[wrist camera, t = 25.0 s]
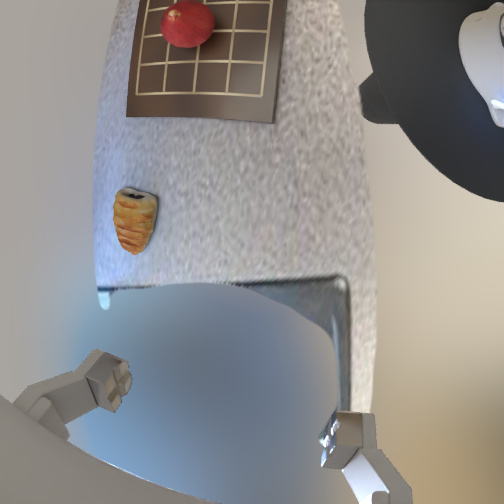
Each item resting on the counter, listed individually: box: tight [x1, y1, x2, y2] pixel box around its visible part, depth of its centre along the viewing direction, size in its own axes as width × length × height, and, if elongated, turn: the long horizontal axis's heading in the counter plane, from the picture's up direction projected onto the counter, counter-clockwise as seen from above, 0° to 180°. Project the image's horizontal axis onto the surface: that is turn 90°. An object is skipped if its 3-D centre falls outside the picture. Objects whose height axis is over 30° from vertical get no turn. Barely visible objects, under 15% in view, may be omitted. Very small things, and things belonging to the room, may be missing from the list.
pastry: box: [113, 188, 158, 255], centre depth 40 cm, size 9×7×4 cm
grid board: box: [126, 0, 287, 123], centre depth 29 cm, size 19×22×2 cm
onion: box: [160, 0, 215, 48], centre depth 25 cm, size 6×6×8 cm
